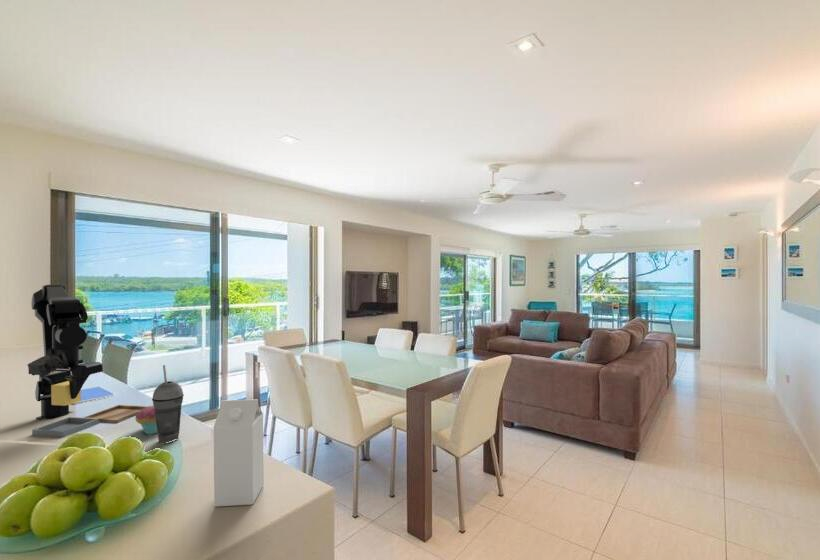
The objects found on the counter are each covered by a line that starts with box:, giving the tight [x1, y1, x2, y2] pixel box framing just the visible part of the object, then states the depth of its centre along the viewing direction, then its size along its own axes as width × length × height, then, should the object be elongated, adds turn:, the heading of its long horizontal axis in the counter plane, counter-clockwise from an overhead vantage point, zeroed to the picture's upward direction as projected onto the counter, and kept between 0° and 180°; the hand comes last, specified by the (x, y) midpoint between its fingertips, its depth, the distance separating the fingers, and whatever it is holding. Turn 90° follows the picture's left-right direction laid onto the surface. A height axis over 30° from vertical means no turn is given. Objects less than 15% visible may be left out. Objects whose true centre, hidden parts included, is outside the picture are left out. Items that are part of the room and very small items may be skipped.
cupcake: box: [134, 405, 158, 435], centre depth 111 cm, size 9×8×12 cm
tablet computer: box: [71, 386, 116, 405], centre depth 147 cm, size 19×13×1 cm, turn 53°
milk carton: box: [213, 398, 265, 507], centre depth 78 cm, size 7×7×19 cm
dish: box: [31, 416, 100, 438], centre depth 112 cm, size 10×10×2 cm
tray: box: [82, 404, 151, 424], centre depth 124 cm, size 12×12×1 cm
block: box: [51, 381, 82, 406], centre depth 112 cm, size 4×4×6 cm
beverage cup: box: [151, 364, 184, 445], centre depth 105 cm, size 7×7×20 cm
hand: (66, 398), depth 112 cm, fingers closed on block, 4 cm apart
